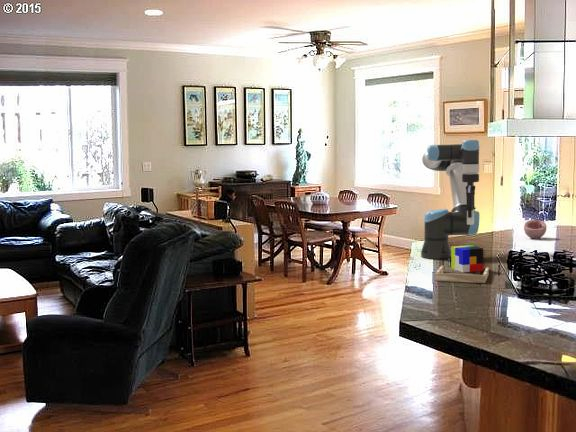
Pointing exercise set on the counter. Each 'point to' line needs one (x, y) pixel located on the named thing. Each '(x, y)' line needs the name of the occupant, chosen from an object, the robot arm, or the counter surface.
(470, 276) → the tray
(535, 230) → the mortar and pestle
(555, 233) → the counter surface
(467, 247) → the puzzle toy
